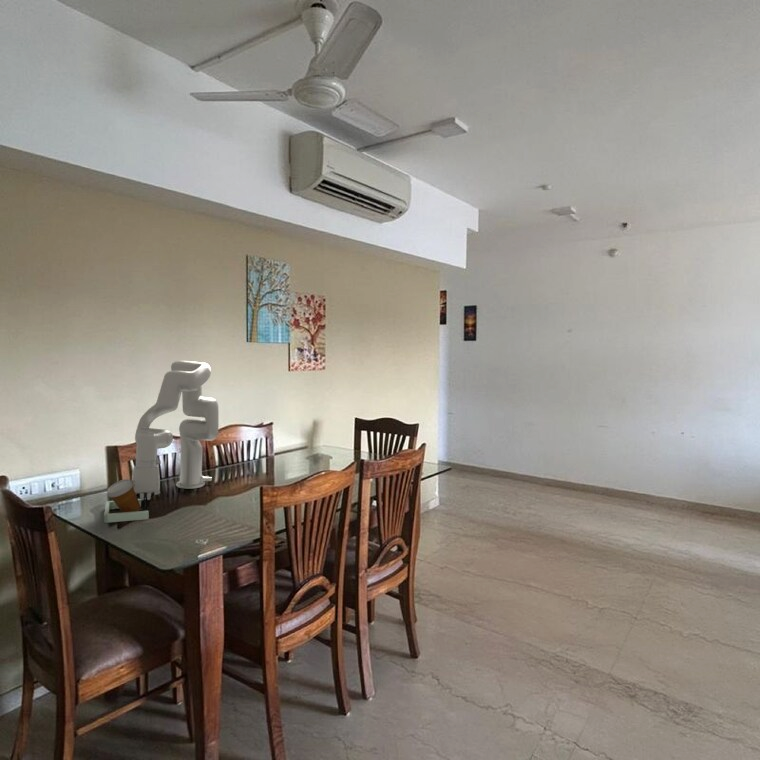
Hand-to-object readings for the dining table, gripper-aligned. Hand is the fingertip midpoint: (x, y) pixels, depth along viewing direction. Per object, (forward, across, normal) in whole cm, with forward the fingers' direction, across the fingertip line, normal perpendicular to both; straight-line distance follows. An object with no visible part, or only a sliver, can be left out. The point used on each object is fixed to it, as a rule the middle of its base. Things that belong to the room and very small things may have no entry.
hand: (145, 508), depth 207 cm
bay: (+2, +6, 0) cm, 6 cm away
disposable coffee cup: (0, +4, 0) cm, 4 cm away
